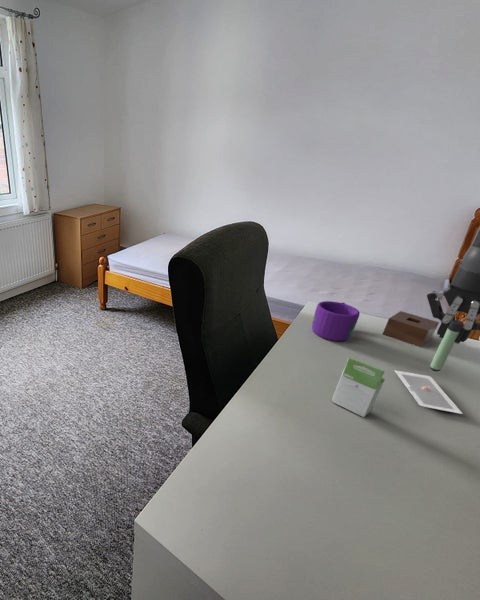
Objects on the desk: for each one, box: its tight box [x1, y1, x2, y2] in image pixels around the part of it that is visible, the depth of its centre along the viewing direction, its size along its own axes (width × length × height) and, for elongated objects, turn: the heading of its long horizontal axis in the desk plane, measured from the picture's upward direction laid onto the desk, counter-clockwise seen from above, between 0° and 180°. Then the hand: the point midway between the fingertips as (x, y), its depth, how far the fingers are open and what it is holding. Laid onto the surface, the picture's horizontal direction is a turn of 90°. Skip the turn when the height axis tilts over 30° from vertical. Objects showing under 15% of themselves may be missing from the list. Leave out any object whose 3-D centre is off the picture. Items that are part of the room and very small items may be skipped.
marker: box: [429, 319, 465, 373], centre depth 79 cm, size 2×2×14 cm
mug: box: [311, 300, 361, 342], centre depth 114 cm, size 17×11×10 cm, turn 134°
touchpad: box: [394, 370, 464, 415], centre depth 86 cm, size 8×15×2 cm, turn 158°
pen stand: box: [382, 310, 440, 348], centre depth 111 cm, size 10×10×6 cm
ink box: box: [331, 357, 386, 418], centre depth 80 cm, size 7×4×13 cm, turn 34°
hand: (449, 339), depth 78 cm, fingers closed on marker, 2 cm apart
